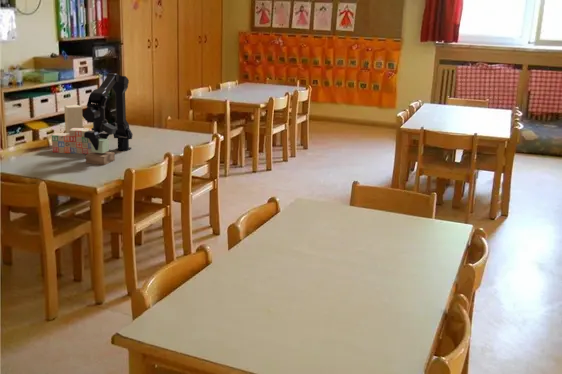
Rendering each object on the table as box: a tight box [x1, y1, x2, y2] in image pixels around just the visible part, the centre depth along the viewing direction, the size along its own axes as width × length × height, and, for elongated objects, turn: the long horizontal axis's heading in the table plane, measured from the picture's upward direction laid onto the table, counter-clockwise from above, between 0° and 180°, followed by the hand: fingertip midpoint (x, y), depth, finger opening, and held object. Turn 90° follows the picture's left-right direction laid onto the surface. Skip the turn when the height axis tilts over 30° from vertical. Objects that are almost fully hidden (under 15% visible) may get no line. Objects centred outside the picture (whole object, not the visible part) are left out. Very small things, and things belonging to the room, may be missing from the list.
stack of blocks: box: [51, 127, 92, 155], centre depth 314 cm, size 21×6×12 cm, turn 93°
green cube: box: [91, 138, 110, 153], centre depth 298 cm, size 6×6×6 cm
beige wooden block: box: [63, 104, 84, 133], centre depth 328 cm, size 8×7×21 cm
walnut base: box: [85, 151, 116, 166], centre depth 300 cm, size 10×10×4 cm
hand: (100, 148), depth 298 cm, fingers closed on green cube, 6 cm apart
